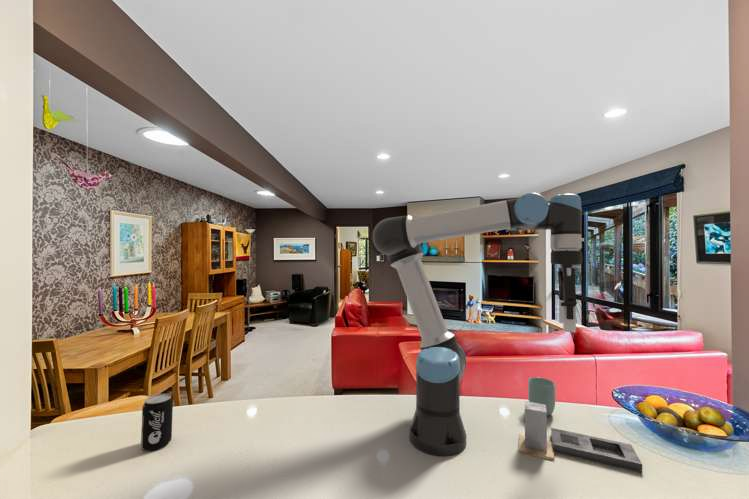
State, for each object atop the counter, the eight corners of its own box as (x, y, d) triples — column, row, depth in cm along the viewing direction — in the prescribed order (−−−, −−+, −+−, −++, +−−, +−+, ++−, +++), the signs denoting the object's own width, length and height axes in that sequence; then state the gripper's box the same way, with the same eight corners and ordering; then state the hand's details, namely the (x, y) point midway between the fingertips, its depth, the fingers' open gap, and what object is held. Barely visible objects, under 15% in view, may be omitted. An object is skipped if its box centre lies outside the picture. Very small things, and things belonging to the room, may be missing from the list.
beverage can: (177, 441, 84) (178, 395, 85) (150, 455, 79) (152, 405, 79) (161, 435, 87) (163, 391, 88) (135, 448, 81) (136, 400, 82)
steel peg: (525, 447, 82) (524, 408, 83) (525, 438, 87) (524, 400, 87) (547, 453, 80) (546, 412, 81) (545, 443, 85) (545, 404, 85)
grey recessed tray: (553, 452, 82) (553, 443, 82) (551, 435, 90) (551, 427, 90) (642, 473, 74) (642, 463, 74) (631, 452, 82) (631, 444, 82)
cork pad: (518, 451, 82) (518, 449, 82) (519, 436, 89) (519, 434, 89) (554, 460, 78) (554, 458, 78) (552, 444, 85) (552, 441, 85)
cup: (559, 419, 99) (558, 387, 99) (532, 417, 100) (531, 384, 101) (550, 408, 106) (550, 378, 107) (525, 406, 108) (525, 376, 108)
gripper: (589, 248, 76) (590, 338, 75) (576, 251, 99) (576, 320, 98) (553, 248, 80) (554, 334, 79) (548, 251, 102) (549, 318, 101)
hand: (566, 327), depth 88 cm, fingers open, 13 cm apart
